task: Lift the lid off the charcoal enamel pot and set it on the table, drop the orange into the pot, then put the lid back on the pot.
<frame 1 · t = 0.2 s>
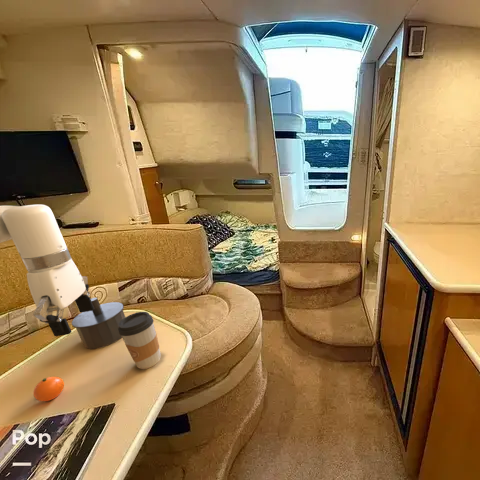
hand: (76, 321, 67), 20 cm above the table, tool pointing down, fingers open, 9 cm apart
coffee cup: (149, 361, 80), on the table
pot: (107, 335, 93), on the table
orange: (53, 396, 70), on the table
lid: (99, 315, 90), point 8 cm above the table, touching pot
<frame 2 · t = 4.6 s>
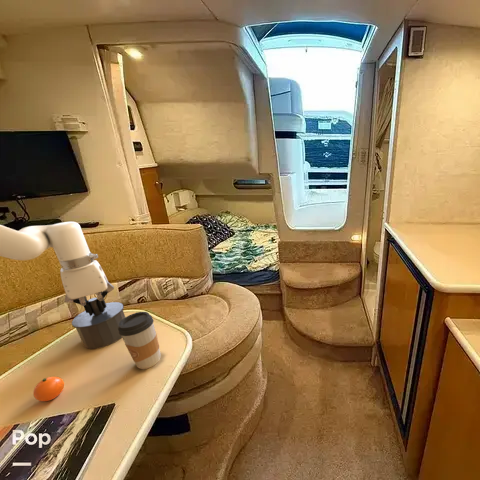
hand: (97, 311, 89), 10 cm above the table, tool pointing down, fingers closed on lid, 2 cm apart
lid: (99, 315, 90), point 9 cm above the table, touching gripper, pot
everything else where it was.
when the fingers open (2 cm above the table, at t = 12.3 s): lid stays where it is, point 1 cm above the table.
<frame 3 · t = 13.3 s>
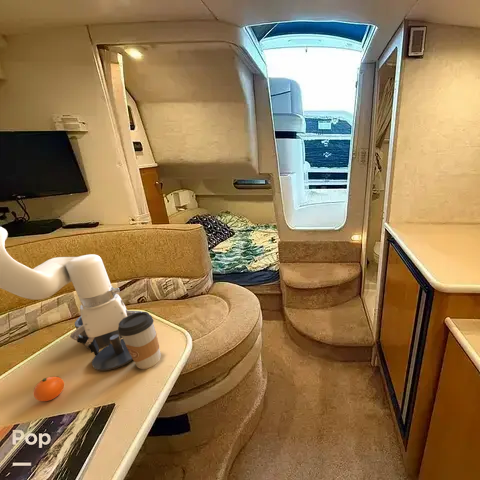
hand: (116, 345, 82), 4 cm above the table, tool pointing down, fingers open, 9 cm apart
lid: (120, 353, 83), point 1 cm above the table
everything else where it was.
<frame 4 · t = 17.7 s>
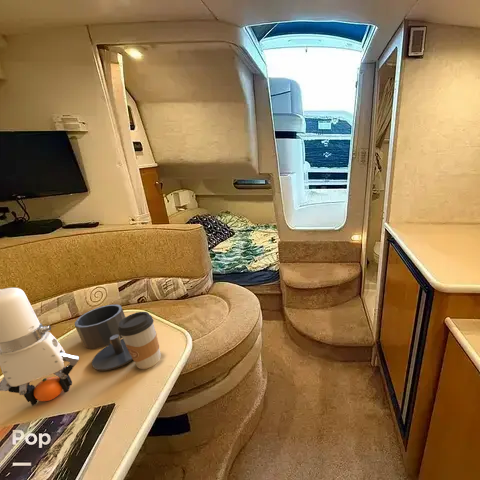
hand: (52, 393, 70), 1 cm above the table, tool pointing down, fingers closed on orange, 5 cm apart
orange: (53, 396, 70), on the table, touching gripper
everything else where it was.
when the fingers open (8 cm above the table, at t = 25.2 s): orange drops 7 cm, resting on pot.
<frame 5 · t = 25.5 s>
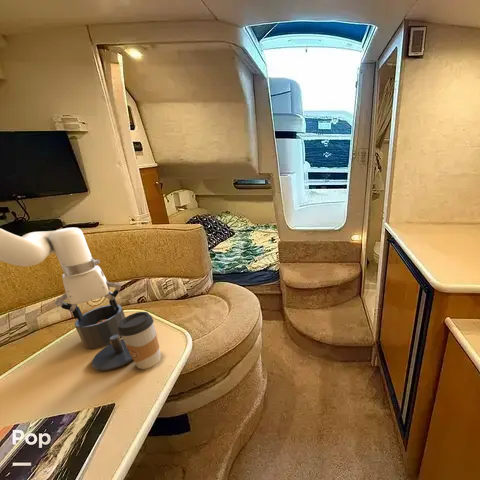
hand: (98, 313, 89), 9 cm above the table, tool pointing down, fingers open, 8 cm apart
orange: (106, 334, 92), resting on pot
everything else where it was.
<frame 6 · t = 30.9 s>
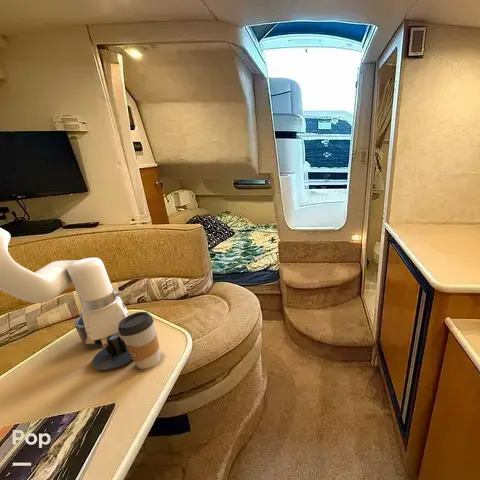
hand: (119, 350, 83), 1 cm above the table, tool pointing down, fingers closed on lid, 2 cm apart
orange: (106, 334, 92), point 1 cm above the table, tilted 13°, touching pot
lid: (120, 353, 83), point 1 cm above the table, touching gripper
everything else where it was.
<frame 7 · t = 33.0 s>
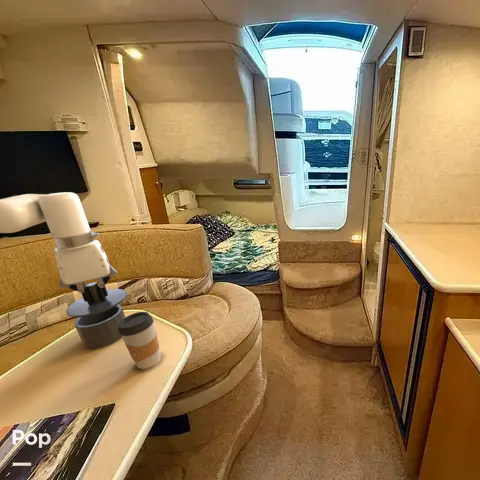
hand: (97, 300, 76), 20 cm above the table, tool pointing down, fingers closed on lid, 2 cm apart
orange: (107, 331, 92), point 2 cm above the table, tilted 55°, touching pot
lid: (98, 302, 77), point 19 cm above the table, touching gripper
everything else where it was.
when the fingers open (9 cm above the table, at t = 38.2 s): lid stays where it is, resting on pot.
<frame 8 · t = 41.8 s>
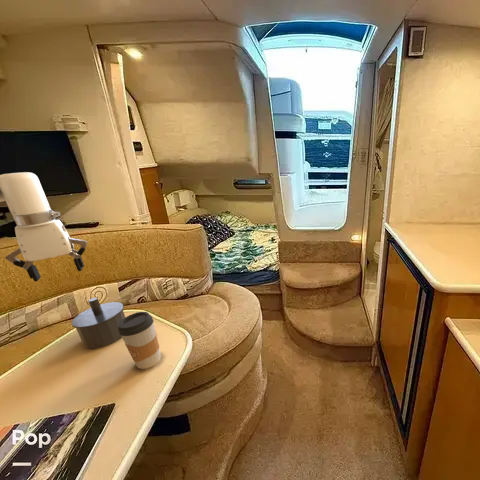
hand: (59, 274, 79), 26 cm above the table, tool pointing down, fingers open, 9 cm apart
lid: (99, 315, 90), point 8 cm above the table, touching pot
everything else where it was.
at the end: orange inside the target area in the pot (0.4 cm from its centre), point 1.8 cm above the pot's base; lid 0.0 cm off-centre on the pot, point 8.5 cm above the pot's base; lid tilted 0° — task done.
